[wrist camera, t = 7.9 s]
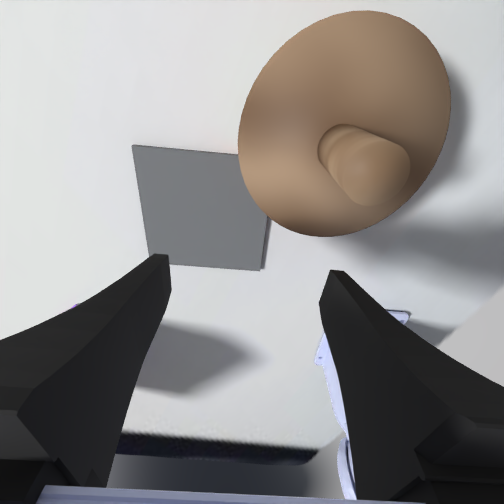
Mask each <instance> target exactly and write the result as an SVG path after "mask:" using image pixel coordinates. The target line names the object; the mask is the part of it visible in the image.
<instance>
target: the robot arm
mask: <svg viewBox="0 0 504 504" xmlns="http://www.w3.org/2000/svg"><path fill="white" fill-rule="evenodd" d="M171 290H172V289H171V277H170V266H169V255H167V254H156V253H154V254H153V255H151V256H150V257H149V258H147V259H146V260H145V261H143V262H142V263H141V264H139V265H138V266H137V267H136V268H134V269H133V270H131V271H130V272H129V273H127V274H126V275H125V276H123V277H122V278H120V279H119V280H118V281H116V282H114V283H113V284H111V285H110V286H108V287H107V288H105V289H104V290H102V291H101V292H99V293H98V294H96V295H94V296H93V297H91V298H89V299H88V300H86V301H84V302H82V303H81V304H79V305H77V306H75V307H73V308H71V309H69V310H68V311H66V312H63V313H61V314H59V315H57V316H55V317H53V318H51V319H49V320H47V321H45V322H42V323H40V324H38V325H36V326H34V327H31V328H29V329H27V330H24V331H22V332H20V333H17V334H15V335H12V336H10V337H7V338H5V339H2V340H0V504H504V387H503V386H501V385H499V384H497V383H495V382H493V381H491V380H489V379H487V378H486V377H484V376H482V375H480V374H479V373H477V372H475V371H473V370H471V369H470V368H468V367H466V366H464V365H463V364H461V363H459V362H458V361H456V360H454V359H453V358H451V357H450V356H448V355H446V354H445V353H443V352H442V351H440V350H439V349H437V348H436V347H434V346H433V345H431V344H430V343H428V342H427V341H425V340H424V339H422V338H421V337H420V336H418V335H417V334H416V333H414V332H413V331H411V330H410V329H409V328H407V327H406V326H405V323H406V322H407V320H408V318H409V315H408V314H407V313H406V312H394V311H386V310H385V309H384V308H383V307H382V306H381V305H380V304H379V303H377V302H376V301H375V300H374V299H373V298H372V297H371V296H370V295H369V294H368V293H367V292H366V291H365V290H364V289H362V288H361V287H360V286H359V285H358V284H357V283H356V282H355V281H354V280H353V279H352V278H351V277H350V276H349V275H348V274H347V273H345V272H344V271H339V270H330V272H329V275H328V278H327V281H326V284H325V286H324V289H323V292H322V295H321V298H320V301H319V307H320V314H321V320H322V325H323V328H324V334H323V337H322V340H321V343H320V345H319V348H318V351H317V353H316V356H315V359H314V363H315V364H316V365H323V369H324V373H325V377H326V382H327V386H328V390H329V394H330V398H331V402H332V407H333V411H334V414H335V417H336V419H337V421H338V423H339V424H340V426H341V427H342V428H343V430H344V431H345V432H346V436H347V437H345V438H343V439H342V440H341V441H340V445H339V450H338V456H337V462H338V463H337V464H338V472H339V478H340V482H341V486H342V490H343V493H344V496H345V499H329V498H308V497H286V496H266V495H245V494H223V493H202V492H181V491H160V490H139V489H118V488H117V489H116V488H106V486H107V482H108V478H109V474H110V471H111V467H112V463H113V459H114V456H115V452H116V448H117V444H118V441H119V438H120V434H121V431H122V427H123V424H124V420H125V417H126V413H127V410H128V407H129V404H130V400H131V397H132V394H133V391H134V388H135V384H136V381H137V378H138V375H139V372H140V369H141V366H142V364H143V361H144V359H145V356H146V354H147V351H148V349H149V347H150V345H151V342H152V340H153V338H154V336H155V333H156V331H157V329H158V327H159V325H160V322H161V320H162V318H163V315H164V313H165V311H166V308H167V304H168V301H169V298H170V294H171Z"/></svg>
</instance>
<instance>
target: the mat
mask: <svg viewBox="0 0 504 504" xmlns="http://www.w3.org/2000/svg"><path fill="white" fill-rule="evenodd" d="M132 152H133V158H134V164H135V171H136V177H137V183H138V189H139V196H140V202H141V208H142V215H143V221H144V227H145V233H146V240H147V246H148V252H149V257H150V256H151V255H153V254H154V253H156V254H167V255H169V264H172V265H185V266H198V267H211V268H224V269H237V270H250V271H260V267H261V260H262V252H263V245H264V237H265V230H266V222H267V215H266V214H265V213H264V212H263V211H262V210H261V209H260V208H259V206H258V205H257V204H256V203H255V201H254V200H253V198H252V196H251V195H250V193H249V191H248V189H247V187H246V185H245V182H244V179H243V176H242V173H241V169H240V163H239V157H238V155H237V154H226V153H216V152H205V151H195V150H184V149H174V148H163V147H152V146H142V145H132Z"/></svg>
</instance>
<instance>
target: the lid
mask: <svg viewBox="0 0 504 504" xmlns="http://www.w3.org/2000/svg"><path fill="white" fill-rule="evenodd" d="M450 111H451V92H450V86H449V80H448V76H447V72H446V69H445V66H444V63H443V61H442V59H441V57H440V55H439V53H438V51H437V50H436V48H435V47H434V45H433V44H432V43H431V42H430V40H429V39H428V38H427V36H425V35H424V34H423V33H422V32H421V31H420V30H419V29H417V28H416V27H415V26H414V25H412V24H410V23H409V22H407V21H405V20H403V19H402V18H399V17H396V16H393V15H390V14H387V13H383V12H376V11H351V12H346V13H341V14H336V15H333V16H330V17H328V18H325V19H322V20H320V21H317V22H316V23H314V24H312V25H310V26H308V27H307V28H305V29H303V30H301V31H300V32H299V33H297V34H296V35H295V36H293V37H292V38H291V39H289V40H288V41H287V42H286V43H285V44H284V45H283V46H282V47H281V48H280V49H279V50H278V51H277V52H276V53H275V54H274V55H273V56H272V57H271V59H270V60H269V61H268V62H267V64H266V65H265V66H264V67H263V69H262V70H261V72H260V74H259V75H258V77H257V79H256V80H255V82H254V84H253V86H252V88H251V90H250V92H249V95H248V97H247V99H246V102H245V105H244V109H243V112H242V115H241V121H240V126H239V134H238V157H239V163H240V169H241V173H242V176H243V179H244V182H245V185H246V187H247V189H248V191H249V193H250V195H251V196H252V198H253V200H254V201H255V203H256V204H257V205H258V206H259V208H260V209H261V210H262V211H263V212H264V213H265V214H266V215H267V216H268V217H269V218H271V219H272V220H273V221H275V222H276V223H278V224H279V225H281V226H283V227H285V228H287V229H289V230H291V231H294V232H297V233H300V234H304V235H309V236H318V237H333V236H340V235H346V234H350V233H354V232H357V231H360V230H363V229H365V228H368V227H370V226H372V225H374V224H376V223H378V222H380V221H381V220H383V219H385V218H386V217H388V216H389V215H391V214H392V213H393V212H395V211H396V210H397V209H399V208H400V207H401V206H402V205H403V204H404V203H405V202H407V201H408V200H409V199H410V198H411V196H412V195H413V194H414V193H415V192H416V191H417V190H418V189H419V187H420V186H421V185H422V183H423V182H424V181H425V180H426V178H427V176H428V175H429V173H430V172H431V170H432V168H433V167H434V165H435V163H436V161H437V159H438V157H439V155H440V152H441V150H442V147H443V144H444V141H445V139H446V134H447V130H448V126H449V120H450Z"/></svg>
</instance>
